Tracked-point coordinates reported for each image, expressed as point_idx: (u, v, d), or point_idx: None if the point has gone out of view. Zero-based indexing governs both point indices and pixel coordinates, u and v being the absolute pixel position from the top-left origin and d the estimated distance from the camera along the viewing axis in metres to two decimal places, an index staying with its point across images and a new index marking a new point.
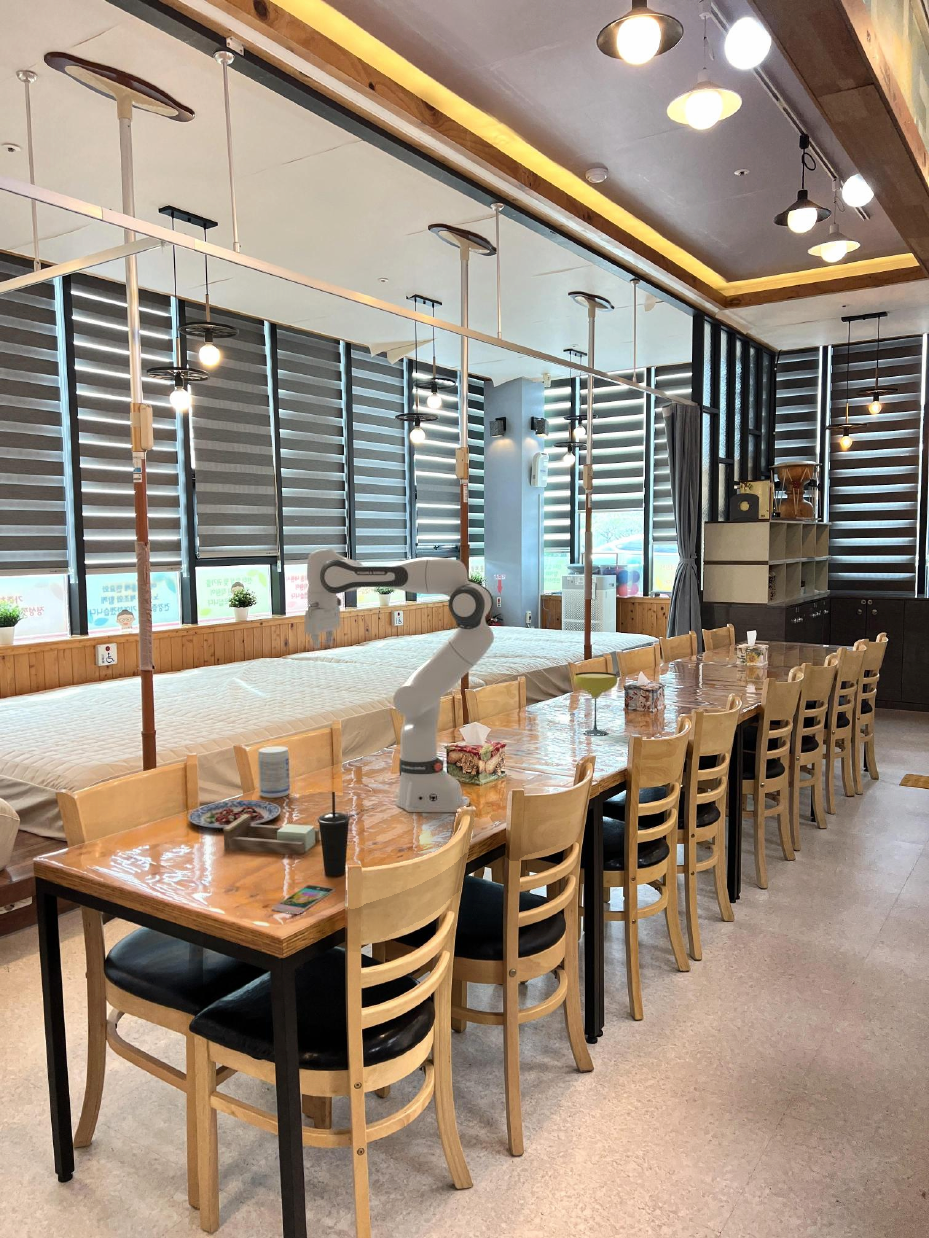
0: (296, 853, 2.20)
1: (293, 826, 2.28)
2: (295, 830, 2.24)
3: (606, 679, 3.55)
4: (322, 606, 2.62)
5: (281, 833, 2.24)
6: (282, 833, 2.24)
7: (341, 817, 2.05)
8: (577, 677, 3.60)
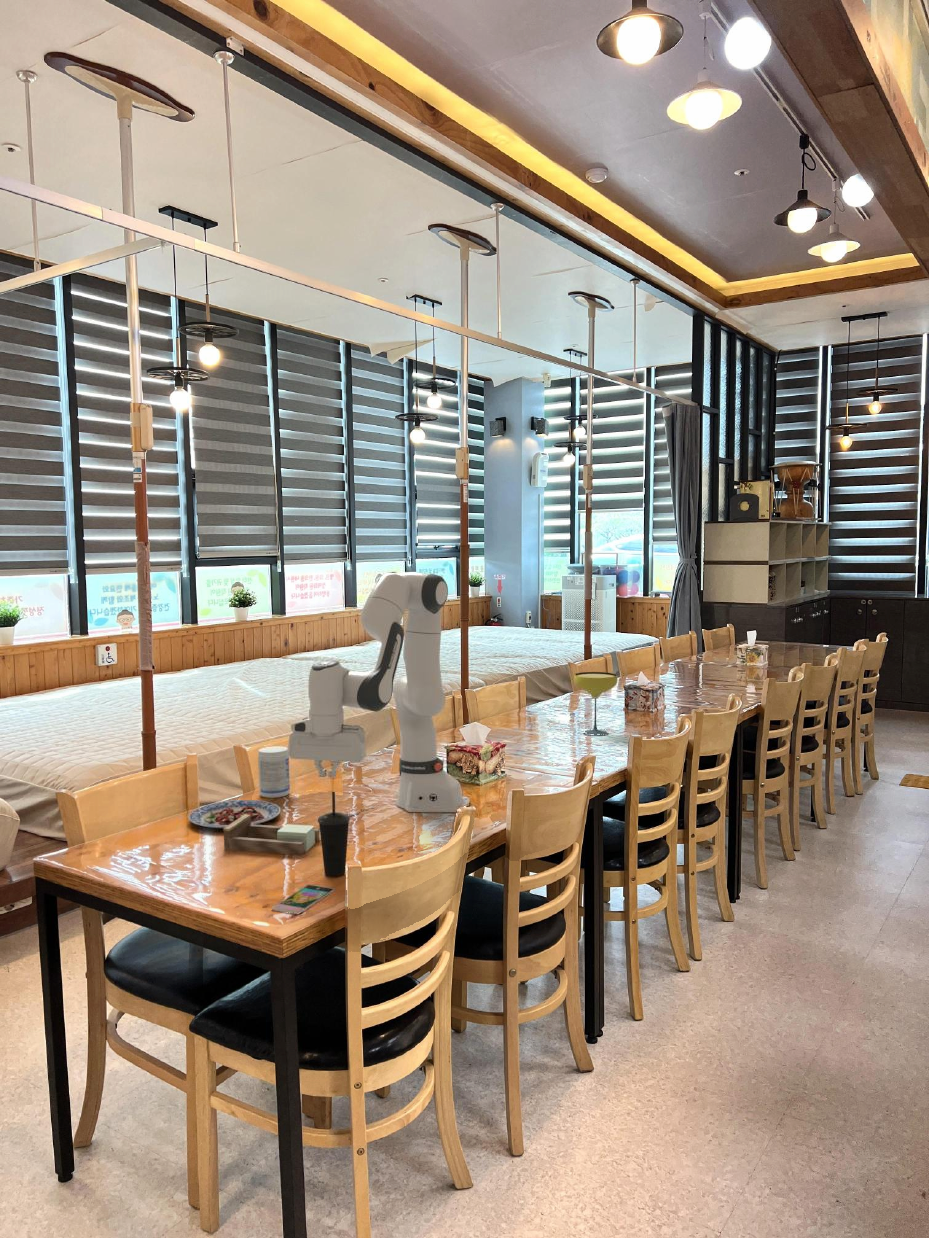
0: (296, 853, 2.20)
1: (293, 826, 2.28)
2: (295, 830, 2.24)
3: (606, 679, 3.55)
4: None
5: (281, 833, 2.24)
6: (282, 833, 2.24)
7: (341, 817, 2.05)
8: (577, 677, 3.60)
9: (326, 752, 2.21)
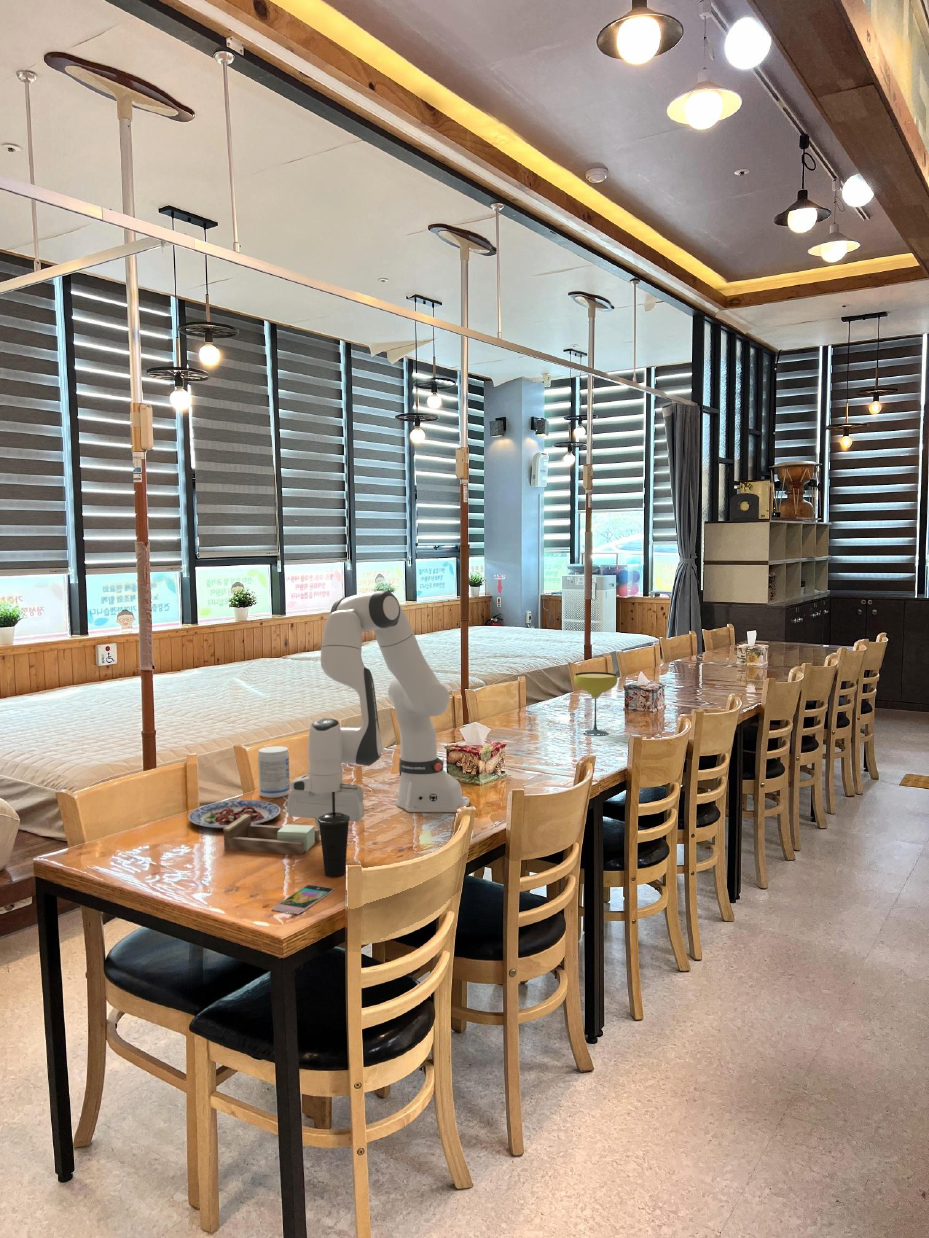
0: (296, 853, 2.20)
1: (293, 826, 2.28)
2: (295, 830, 2.24)
3: (606, 679, 3.55)
4: None
5: (281, 833, 2.24)
6: (283, 833, 2.24)
7: (341, 817, 2.05)
8: (577, 677, 3.60)
9: (325, 811, 2.22)
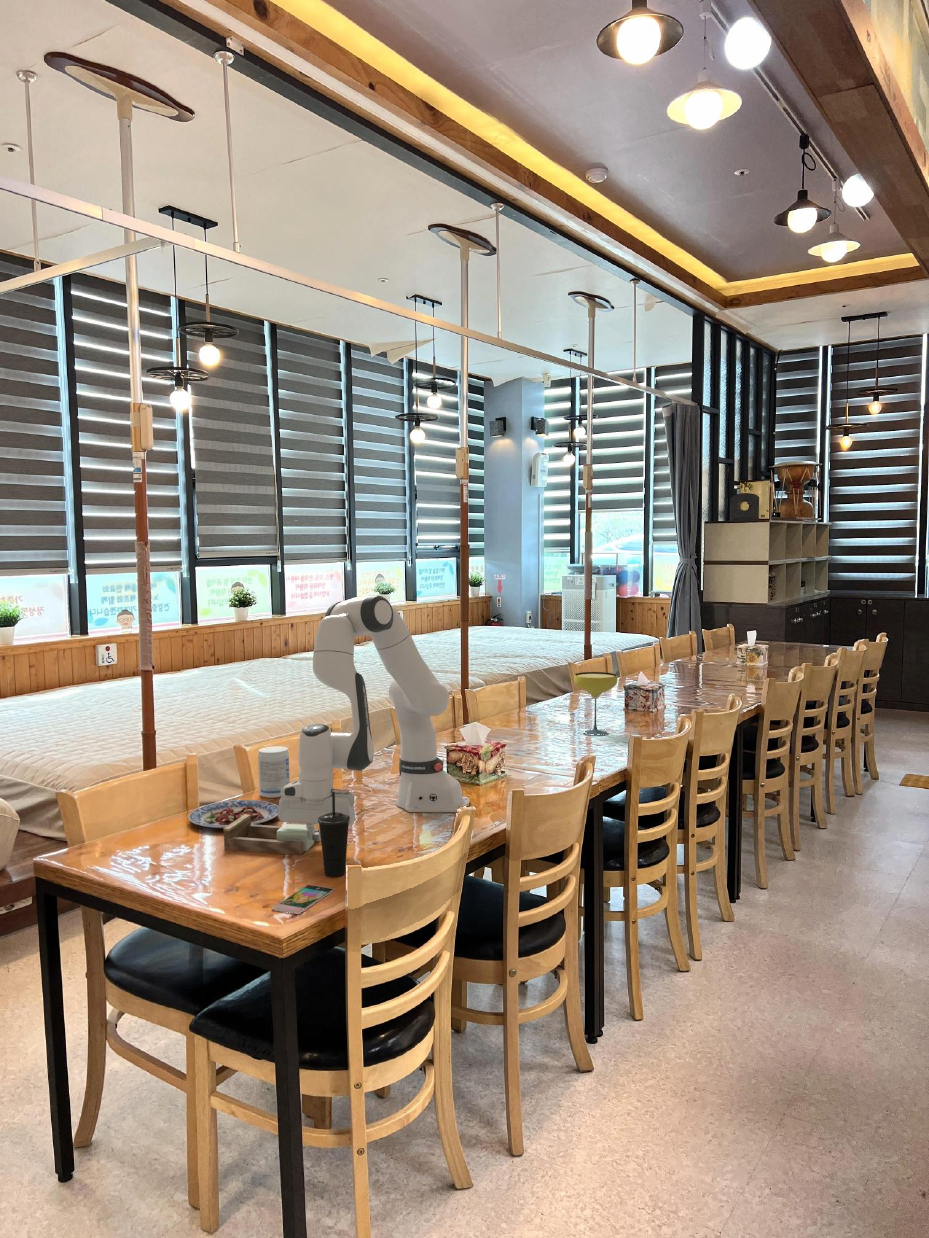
0: (296, 853, 2.20)
1: (292, 826, 2.28)
2: (295, 830, 2.24)
3: (606, 679, 3.55)
4: None
5: (280, 833, 2.24)
6: (282, 833, 2.24)
7: (341, 817, 2.05)
8: (577, 677, 3.60)
9: (316, 816, 2.22)
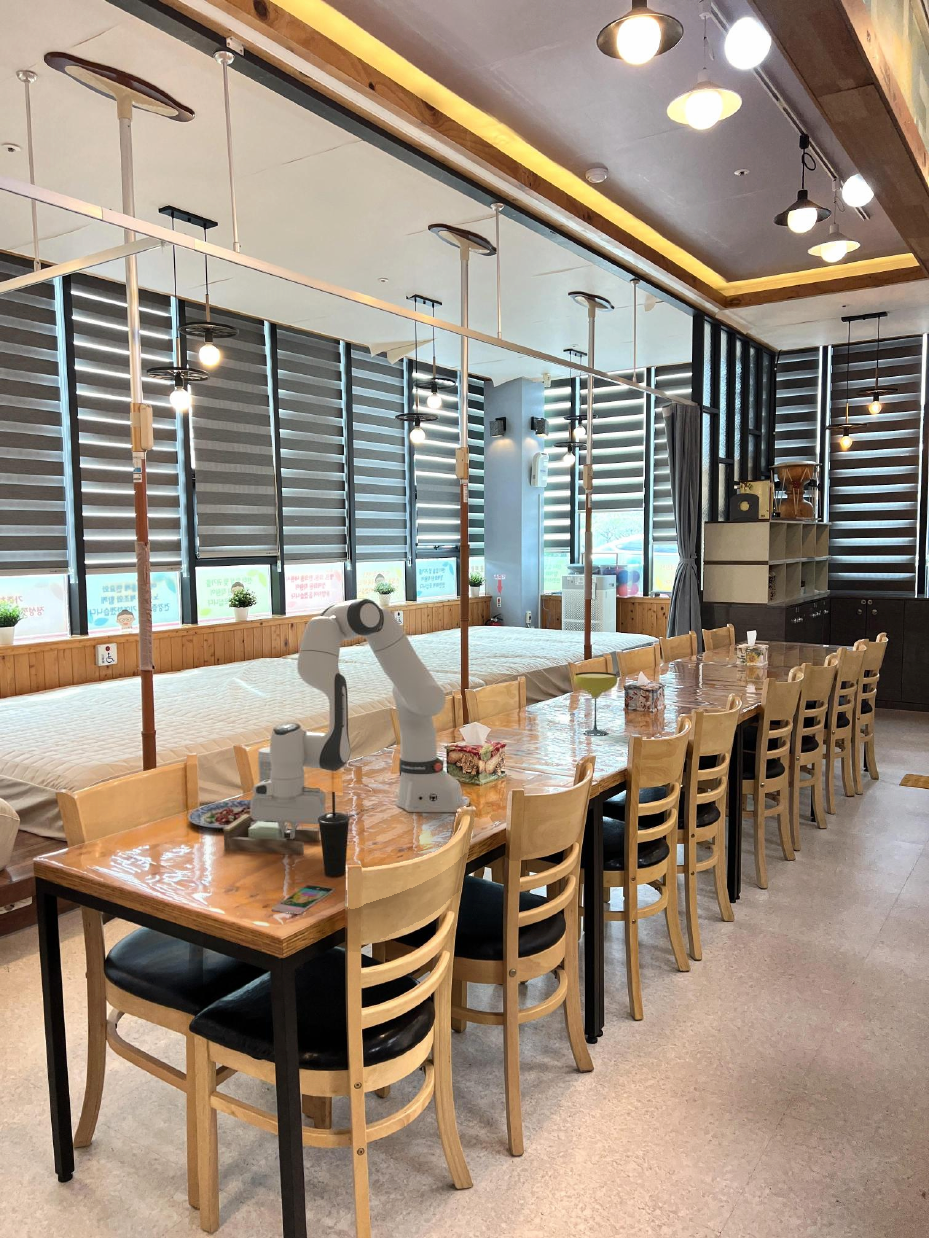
0: (296, 853, 2.20)
1: (265, 823, 2.30)
2: (266, 827, 2.26)
3: (606, 679, 3.55)
4: None
5: (252, 830, 2.26)
6: (253, 830, 2.26)
7: (341, 817, 2.05)
8: (577, 677, 3.60)
9: (287, 814, 2.24)
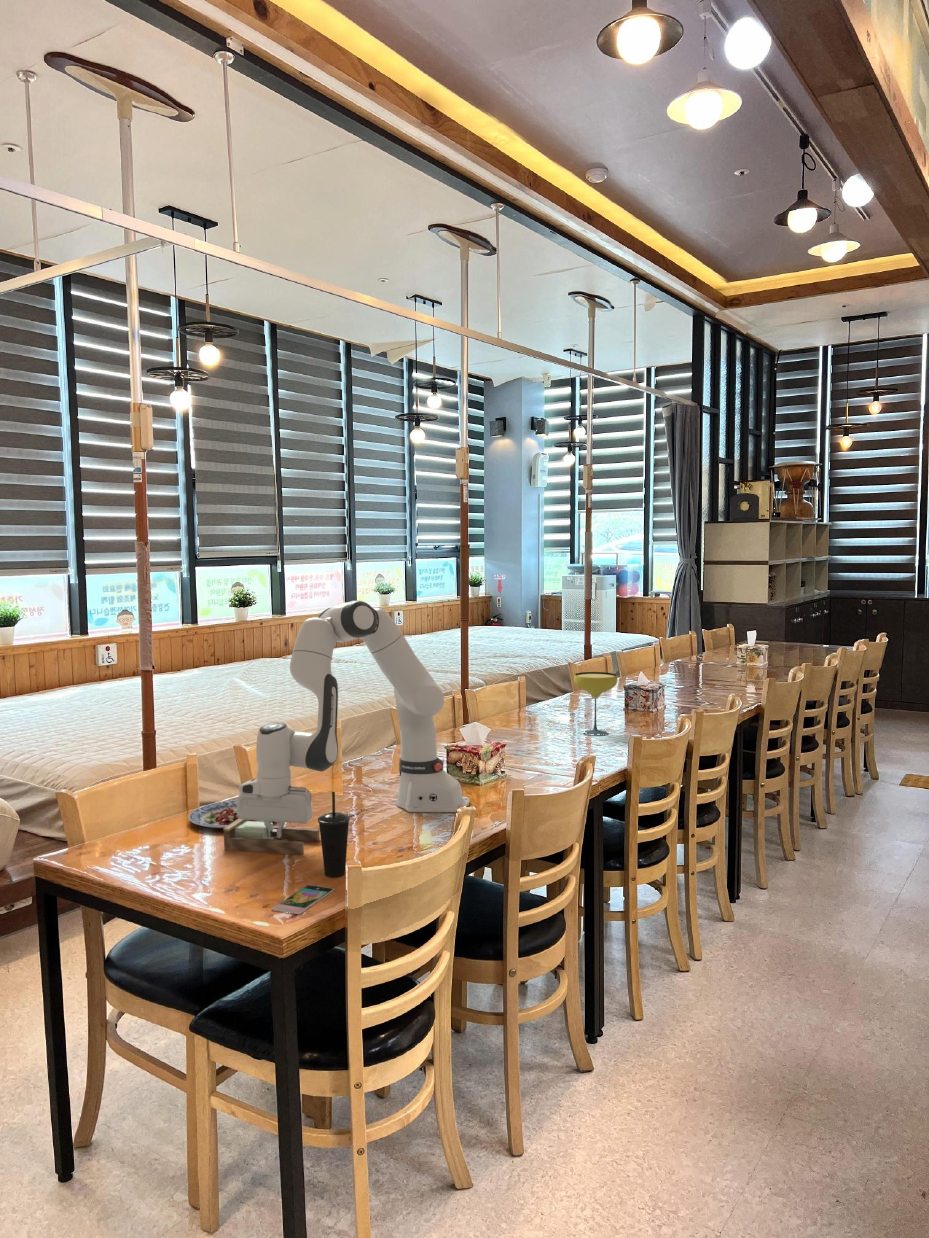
0: (296, 853, 2.20)
1: (252, 823, 2.31)
2: (253, 827, 2.27)
3: (606, 679, 3.55)
4: None
5: (239, 829, 2.27)
6: (240, 830, 2.27)
7: (341, 817, 2.05)
8: (577, 677, 3.60)
9: (274, 813, 2.25)
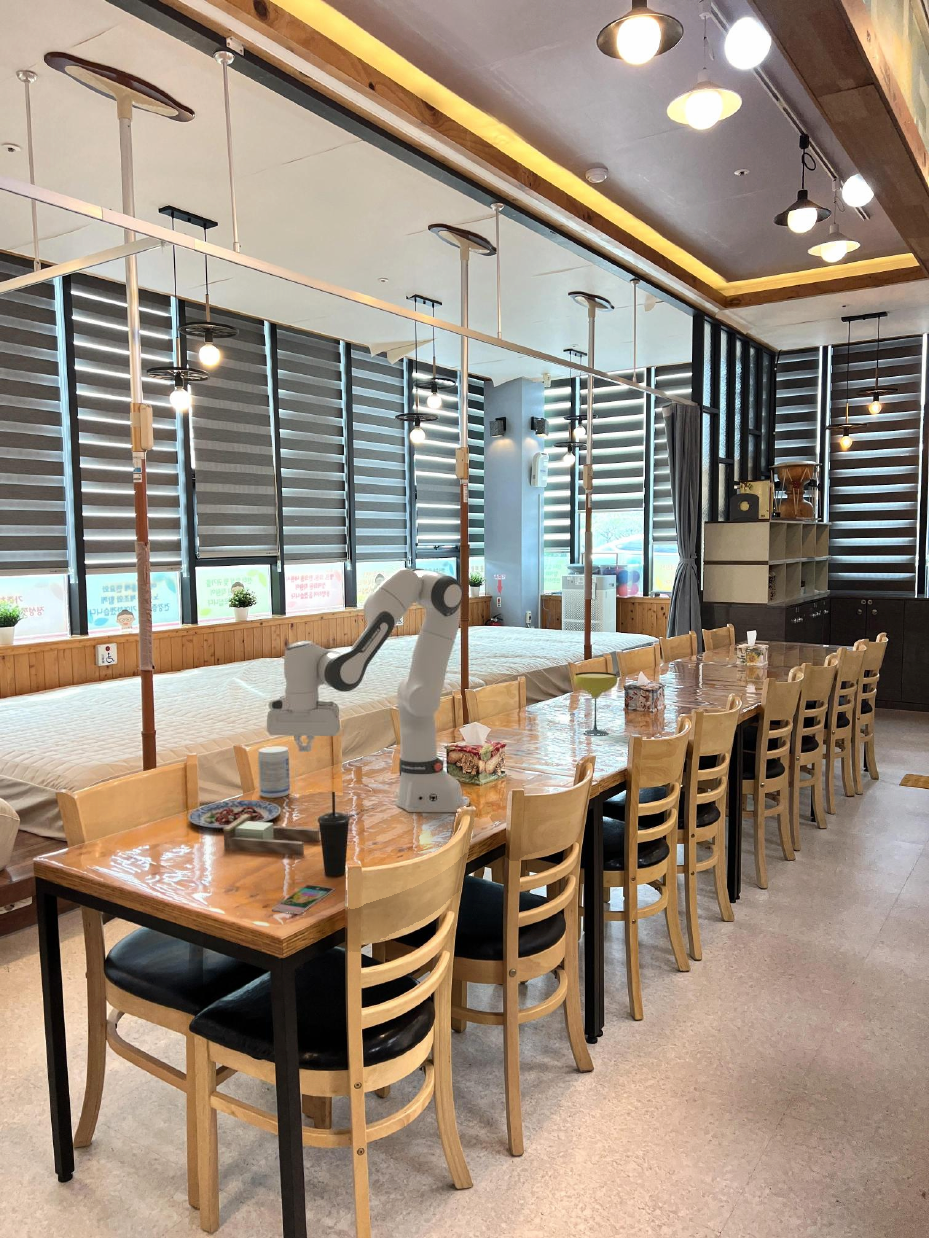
0: (296, 853, 2.20)
1: (252, 823, 2.31)
2: (253, 827, 2.27)
3: (606, 679, 3.55)
4: None
5: (239, 829, 2.27)
6: (240, 830, 2.27)
7: (341, 817, 2.05)
8: (577, 677, 3.60)
9: (303, 728, 2.33)
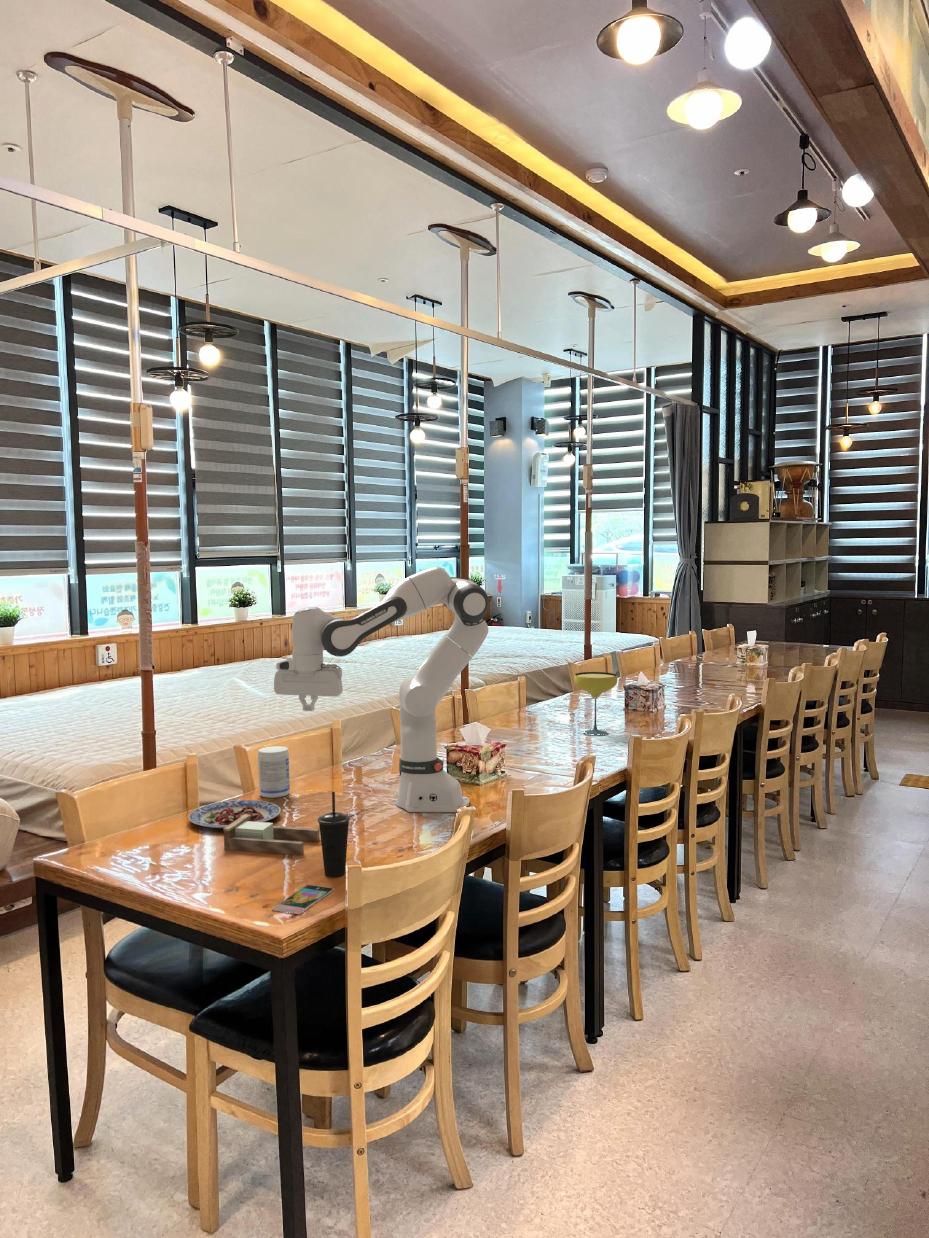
0: (296, 853, 2.20)
1: (252, 823, 2.31)
2: (253, 827, 2.27)
3: (606, 679, 3.55)
4: None
5: (239, 830, 2.27)
6: (240, 830, 2.27)
7: (341, 817, 2.05)
8: (577, 677, 3.60)
9: (308, 688, 2.48)
